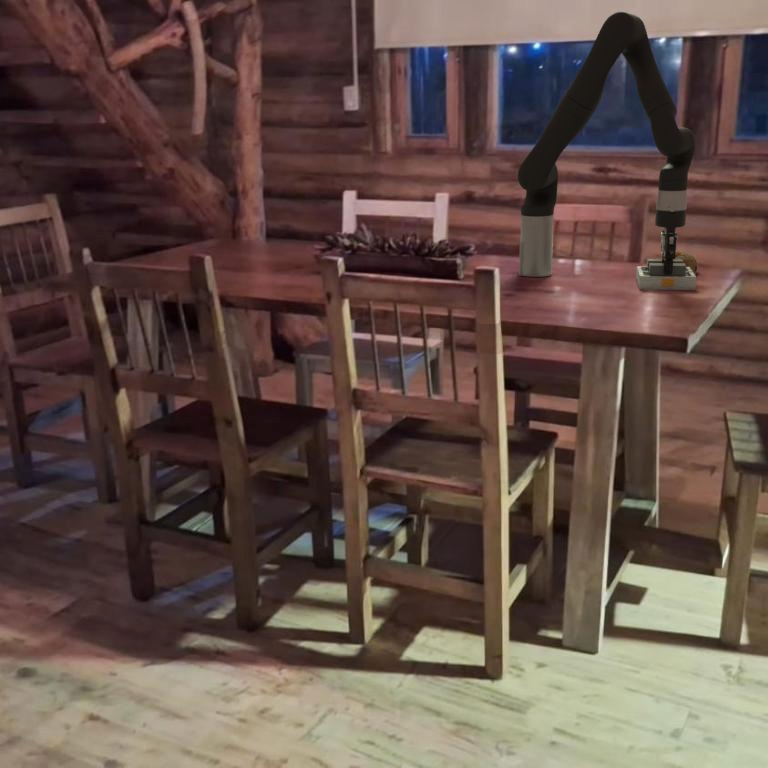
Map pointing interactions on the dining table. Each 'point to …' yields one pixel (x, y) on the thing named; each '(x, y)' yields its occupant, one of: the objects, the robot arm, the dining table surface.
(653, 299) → the dining table surface
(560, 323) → the dining table surface
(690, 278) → the rack
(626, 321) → the dining table surface
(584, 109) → the robot arm
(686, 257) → the bread roll
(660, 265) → the panel
